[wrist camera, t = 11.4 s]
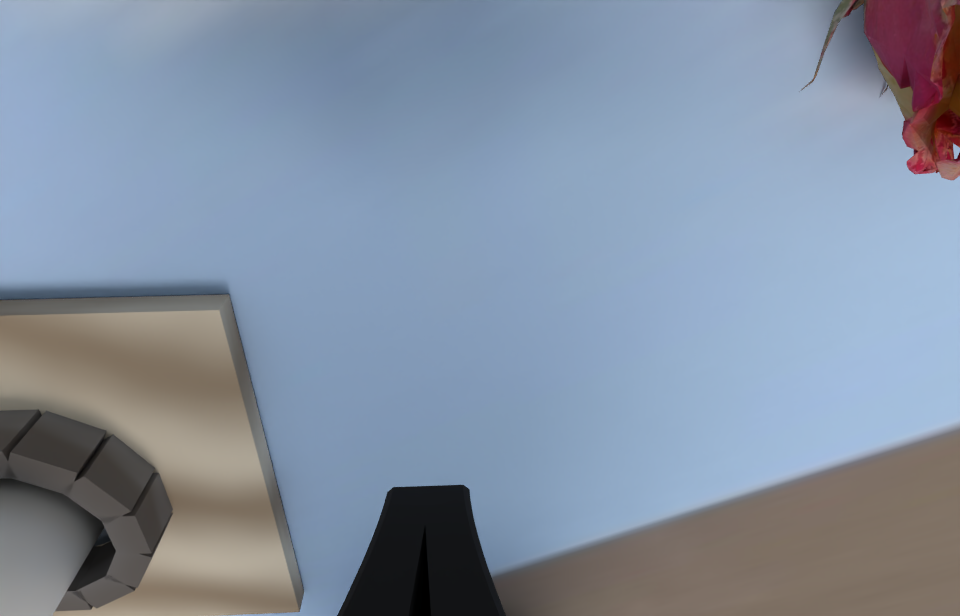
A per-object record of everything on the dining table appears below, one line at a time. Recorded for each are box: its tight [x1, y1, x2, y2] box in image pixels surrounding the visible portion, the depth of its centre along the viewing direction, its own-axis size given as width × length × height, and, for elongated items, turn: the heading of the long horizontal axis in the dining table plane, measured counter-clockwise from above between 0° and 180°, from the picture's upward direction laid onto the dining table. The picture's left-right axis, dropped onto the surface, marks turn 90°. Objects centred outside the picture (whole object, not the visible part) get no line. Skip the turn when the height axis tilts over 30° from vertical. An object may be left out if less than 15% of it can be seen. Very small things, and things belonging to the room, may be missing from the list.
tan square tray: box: [0, 294, 304, 616], centre depth 23 cm, size 16×16×3 cm
